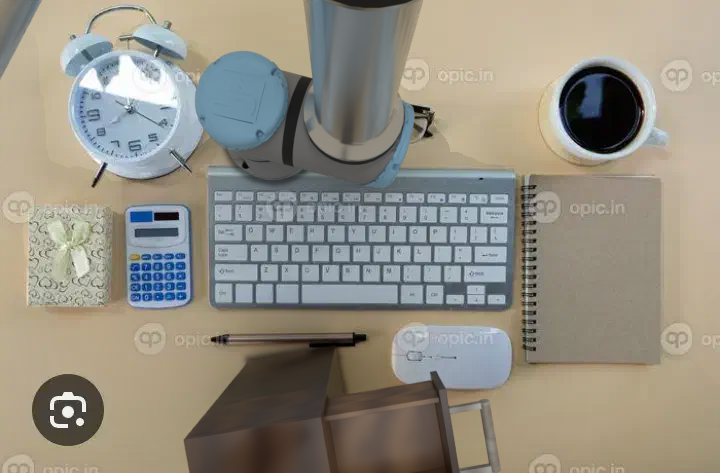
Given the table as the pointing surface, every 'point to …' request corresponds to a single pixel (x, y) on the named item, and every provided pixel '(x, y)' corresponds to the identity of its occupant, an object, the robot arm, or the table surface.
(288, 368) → the slanted brown box
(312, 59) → the robot arm
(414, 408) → the drawer
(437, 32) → the table surface
